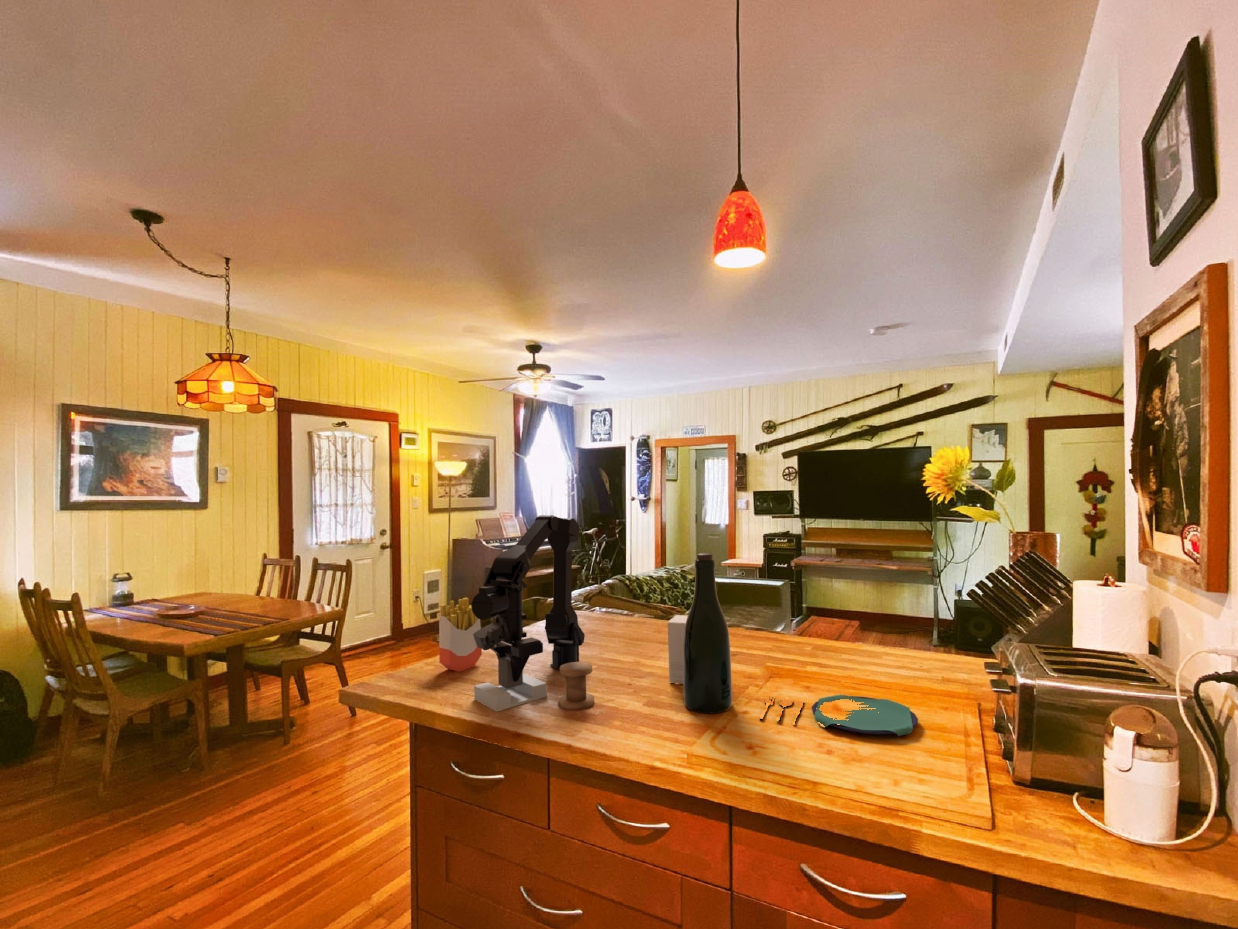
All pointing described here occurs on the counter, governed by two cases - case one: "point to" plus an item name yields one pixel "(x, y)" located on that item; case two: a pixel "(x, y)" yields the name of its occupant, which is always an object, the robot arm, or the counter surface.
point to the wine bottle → (706, 646)
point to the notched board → (510, 693)
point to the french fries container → (458, 636)
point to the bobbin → (576, 686)
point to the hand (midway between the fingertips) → (510, 679)
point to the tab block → (507, 673)
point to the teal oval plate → (870, 716)
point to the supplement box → (676, 648)
